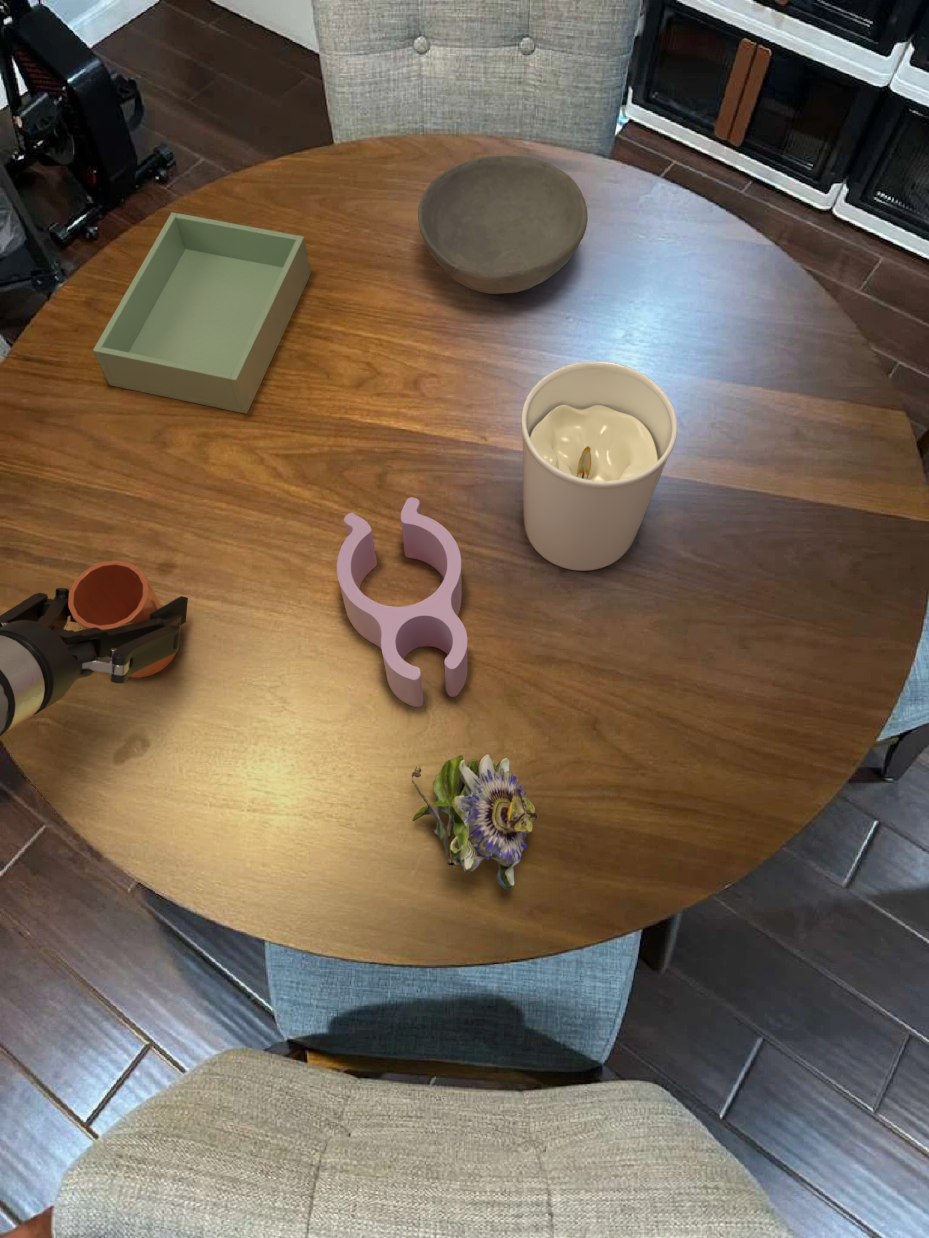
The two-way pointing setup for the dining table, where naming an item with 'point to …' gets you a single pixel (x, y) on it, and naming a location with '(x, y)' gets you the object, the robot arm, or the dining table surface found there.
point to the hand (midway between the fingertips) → (146, 600)
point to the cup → (115, 601)
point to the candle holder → (592, 460)
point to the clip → (415, 622)
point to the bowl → (502, 222)
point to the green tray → (205, 312)
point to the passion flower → (481, 814)
